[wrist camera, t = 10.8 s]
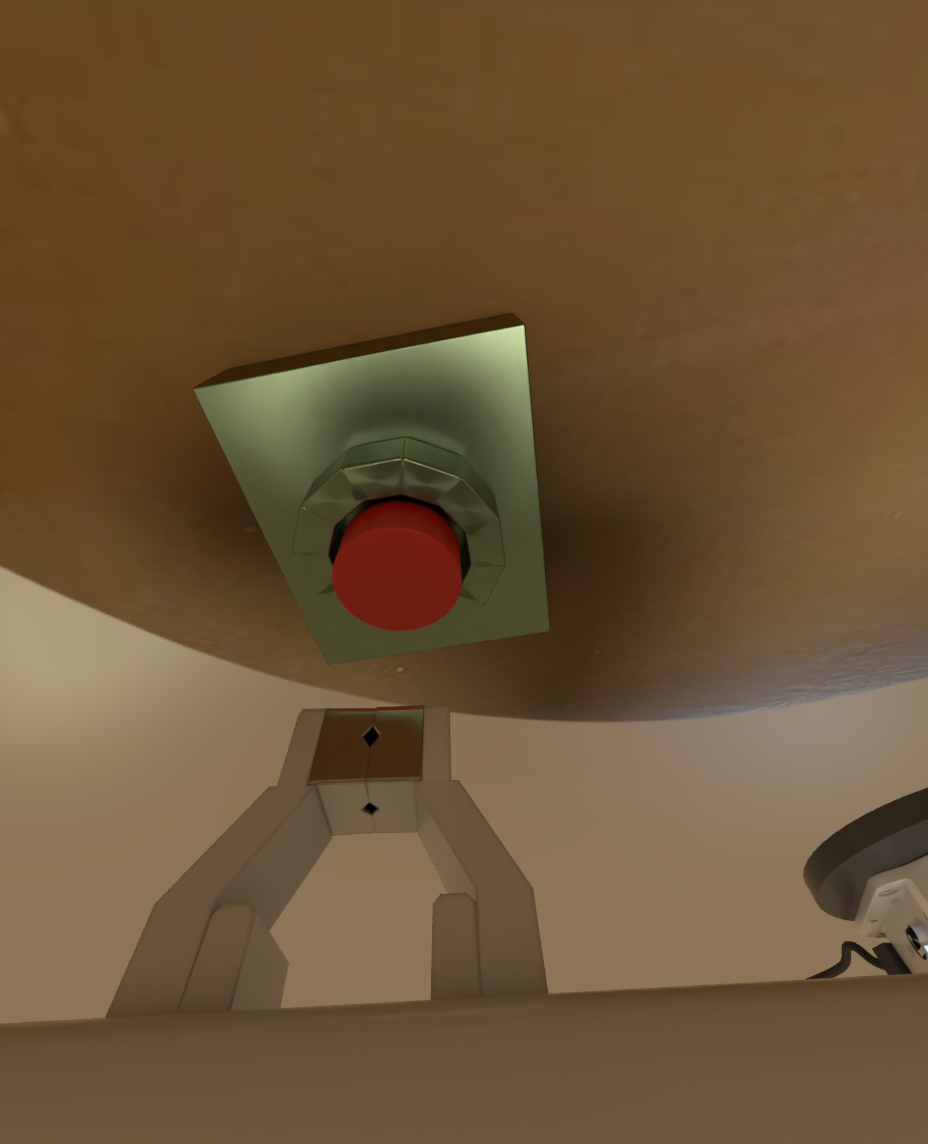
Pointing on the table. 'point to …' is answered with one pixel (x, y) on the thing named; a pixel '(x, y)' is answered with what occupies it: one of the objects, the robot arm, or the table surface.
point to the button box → (394, 471)
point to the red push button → (398, 566)
